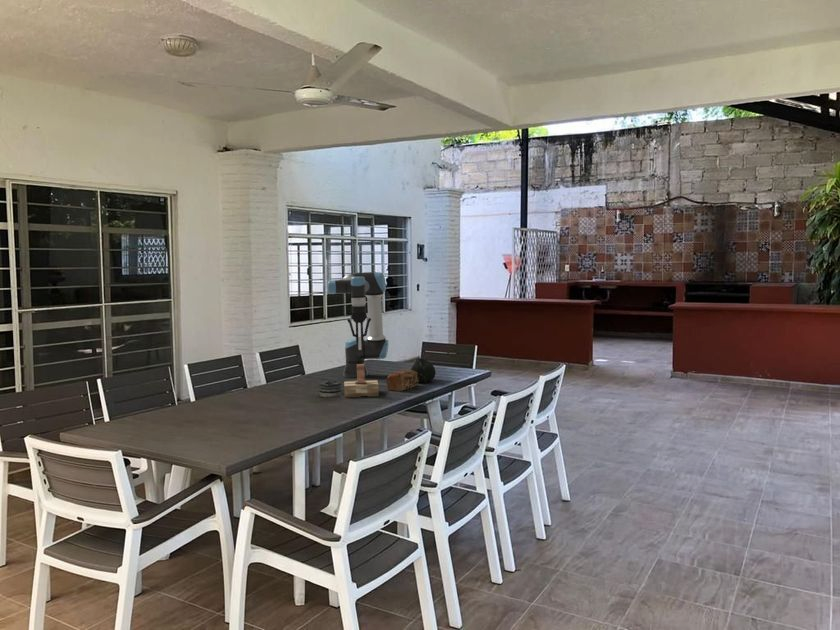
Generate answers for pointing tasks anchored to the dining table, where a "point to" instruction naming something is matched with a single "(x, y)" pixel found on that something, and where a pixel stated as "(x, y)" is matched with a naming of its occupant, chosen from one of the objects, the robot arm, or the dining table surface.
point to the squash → (424, 370)
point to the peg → (360, 374)
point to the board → (361, 388)
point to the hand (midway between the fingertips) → (360, 349)
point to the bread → (402, 380)
